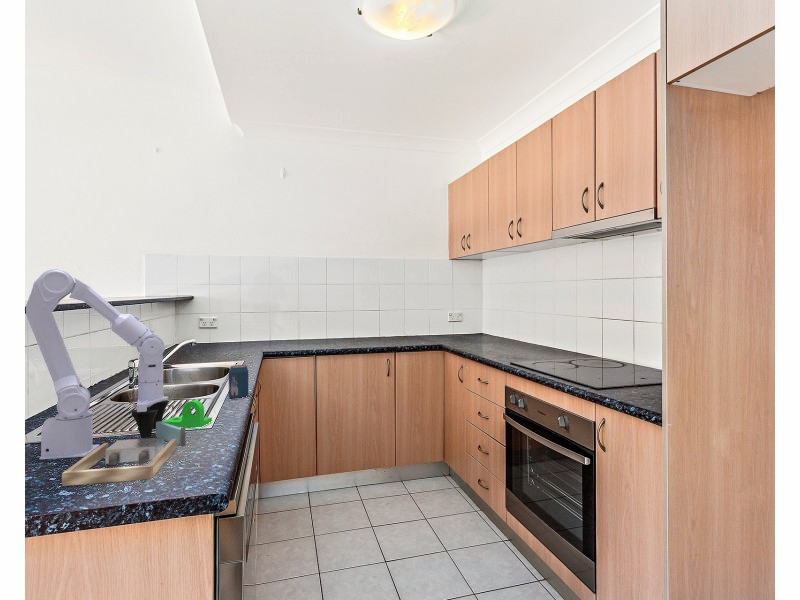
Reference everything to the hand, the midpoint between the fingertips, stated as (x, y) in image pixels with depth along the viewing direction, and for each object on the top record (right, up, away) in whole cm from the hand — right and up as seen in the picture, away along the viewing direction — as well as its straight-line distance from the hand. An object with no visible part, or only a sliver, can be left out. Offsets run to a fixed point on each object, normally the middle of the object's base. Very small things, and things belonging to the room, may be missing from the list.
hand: (150, 433), depth 116 cm
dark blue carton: (+5, -2, +50) cm, 50 cm away
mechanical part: (+3, -2, +14) cm, 14 cm away
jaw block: (+3, -2, -12) cm, 13 cm away
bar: (+5, -2, -1) cm, 5 cm away
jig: (+5, -2, -17) cm, 17 cm away
